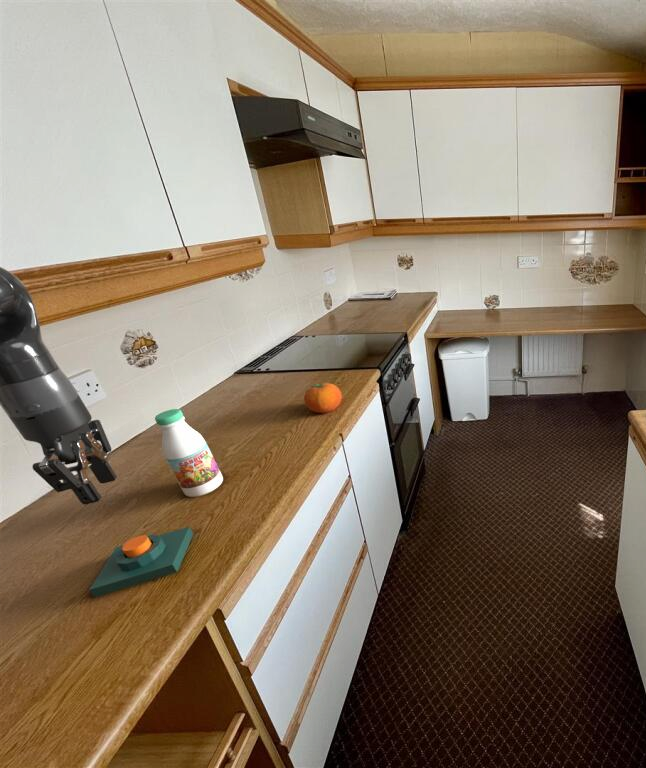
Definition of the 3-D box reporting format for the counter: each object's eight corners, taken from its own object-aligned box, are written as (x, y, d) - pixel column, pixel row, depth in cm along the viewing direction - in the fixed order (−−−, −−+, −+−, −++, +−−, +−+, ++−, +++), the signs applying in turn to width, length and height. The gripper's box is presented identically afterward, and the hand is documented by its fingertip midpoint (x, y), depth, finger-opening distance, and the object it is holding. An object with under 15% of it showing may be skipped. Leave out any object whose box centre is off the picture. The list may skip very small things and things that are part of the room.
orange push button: (123, 560, 72) (118, 553, 71) (131, 546, 75) (127, 539, 74) (147, 553, 73) (143, 546, 72) (154, 539, 76) (150, 532, 75)
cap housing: (95, 598, 70) (83, 582, 68) (121, 555, 78) (110, 540, 76) (178, 573, 73) (168, 557, 71) (194, 534, 82) (185, 519, 80)
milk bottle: (176, 495, 93) (135, 421, 85) (208, 474, 100) (172, 403, 91) (201, 500, 91) (161, 424, 82) (231, 478, 98) (197, 406, 89)
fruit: (349, 409, 126) (342, 386, 122) (314, 421, 120) (306, 398, 116) (337, 398, 133) (331, 376, 130) (304, 409, 128) (297, 386, 124)
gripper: (40, 389, 66) (94, 473, 73) (-27, 432, 53) (47, 527, 61) (97, 379, 68) (145, 461, 75) (46, 418, 56) (109, 512, 63)
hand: (101, 490), depth 68 cm, fingers open, 5 cm apart
